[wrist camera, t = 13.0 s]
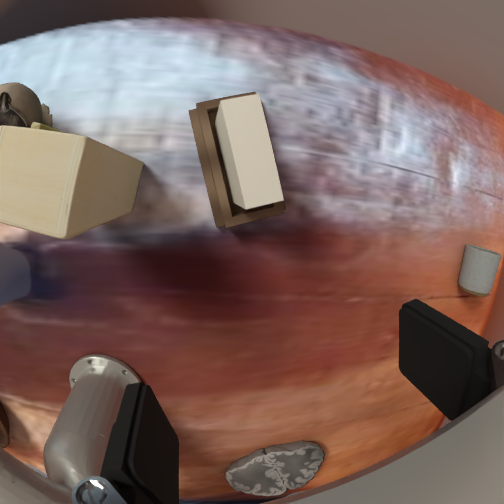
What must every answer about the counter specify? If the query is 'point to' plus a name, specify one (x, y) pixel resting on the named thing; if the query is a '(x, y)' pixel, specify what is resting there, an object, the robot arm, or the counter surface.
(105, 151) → the toy refrigerator
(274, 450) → the brain slice
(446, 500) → the robot arm
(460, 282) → the ceramic mug
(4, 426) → the dish
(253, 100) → the rectangular block
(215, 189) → the brown wooden tray
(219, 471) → the counter surface
